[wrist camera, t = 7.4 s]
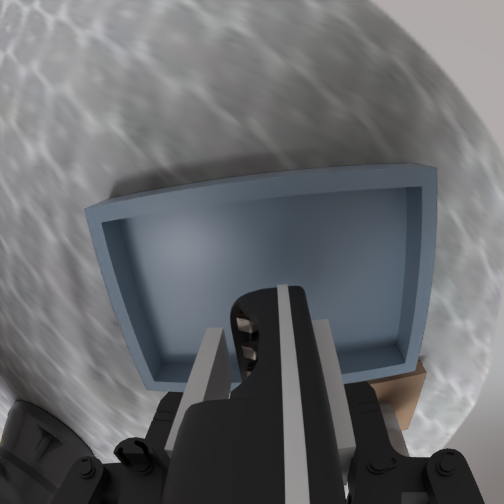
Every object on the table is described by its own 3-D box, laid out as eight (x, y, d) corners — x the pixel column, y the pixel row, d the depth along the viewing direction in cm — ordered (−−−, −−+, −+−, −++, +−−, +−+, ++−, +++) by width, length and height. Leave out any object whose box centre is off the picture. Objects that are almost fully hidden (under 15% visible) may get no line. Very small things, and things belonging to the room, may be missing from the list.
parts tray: (158, 365, 23) (146, 389, 20) (108, 198, 19) (84, 208, 16) (402, 346, 21) (415, 370, 18) (413, 163, 16) (436, 167, 14)
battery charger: (210, 283, 12) (107, 586, 2) (303, 274, 12) (362, 606, 1) (236, 399, 15) (210, 605, 4) (308, 394, 14) (326, 605, 4)
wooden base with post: (327, 431, 25) (335, 505, 17) (330, 376, 22) (345, 464, 14) (403, 417, 24) (425, 484, 16) (420, 360, 22) (457, 435, 14)
